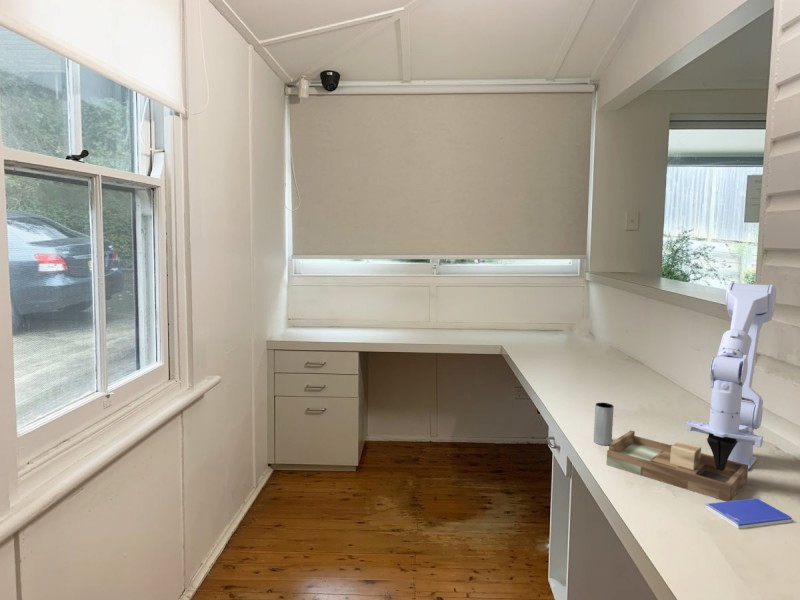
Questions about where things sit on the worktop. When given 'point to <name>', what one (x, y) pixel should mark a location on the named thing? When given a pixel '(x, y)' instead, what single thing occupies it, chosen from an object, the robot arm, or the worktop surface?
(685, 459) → the maple block
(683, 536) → the worktop surface
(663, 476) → the tray
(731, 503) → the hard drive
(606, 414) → the planter
